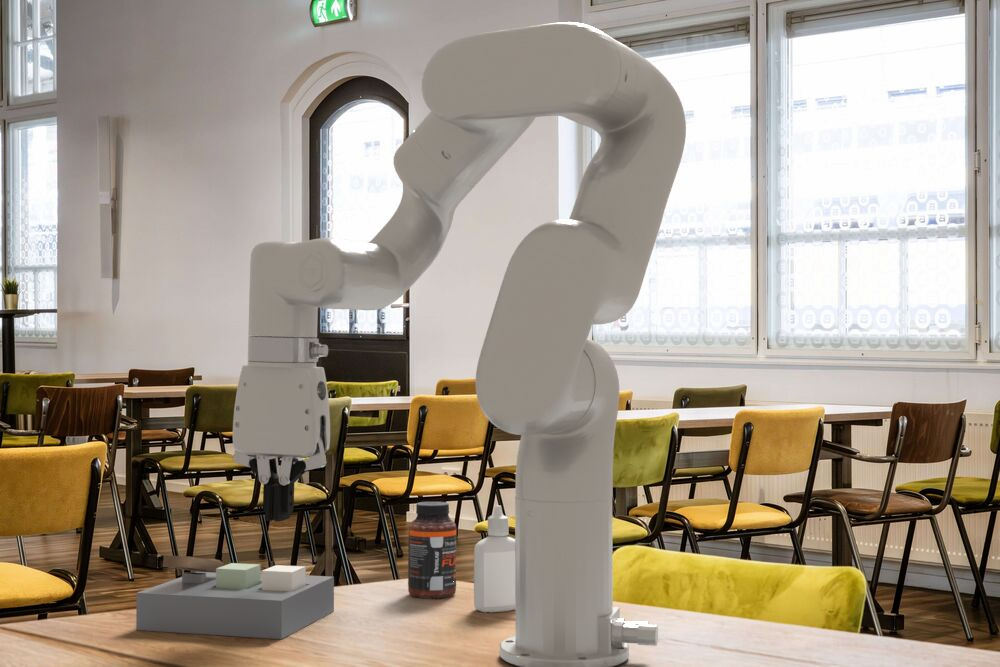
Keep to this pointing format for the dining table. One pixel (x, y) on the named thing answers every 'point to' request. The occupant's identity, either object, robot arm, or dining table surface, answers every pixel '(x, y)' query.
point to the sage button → (238, 576)
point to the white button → (284, 578)
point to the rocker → (192, 563)
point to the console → (232, 607)
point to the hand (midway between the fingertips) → (278, 519)
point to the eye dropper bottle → (495, 567)
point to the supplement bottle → (432, 552)
